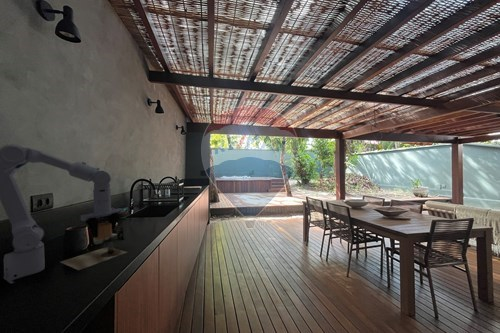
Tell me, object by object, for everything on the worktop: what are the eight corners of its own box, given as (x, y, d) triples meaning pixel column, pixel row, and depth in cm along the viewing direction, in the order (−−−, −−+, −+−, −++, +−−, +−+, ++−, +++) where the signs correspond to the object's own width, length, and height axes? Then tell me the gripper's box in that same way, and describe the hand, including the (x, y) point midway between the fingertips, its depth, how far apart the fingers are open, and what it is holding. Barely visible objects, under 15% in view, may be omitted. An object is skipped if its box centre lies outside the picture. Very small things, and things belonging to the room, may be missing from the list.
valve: (93, 248, 98) (123, 242, 105) (92, 233, 98) (123, 228, 105) (93, 244, 103) (122, 238, 110) (92, 230, 103) (122, 225, 110)
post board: (78, 273, 74) (78, 256, 74) (59, 264, 81) (59, 249, 81) (127, 254, 89) (127, 241, 89) (107, 248, 96) (107, 236, 96)
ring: (99, 240, 83) (99, 227, 83) (92, 238, 86) (92, 225, 86) (114, 235, 88) (114, 223, 88) (107, 234, 91) (106, 222, 91)
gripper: (86, 204, 79) (88, 241, 79) (126, 198, 91) (127, 230, 91) (77, 203, 82) (78, 239, 82) (116, 197, 95) (117, 228, 95)
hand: (103, 234), depth 87 cm, fingers closed on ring, 5 cm apart
